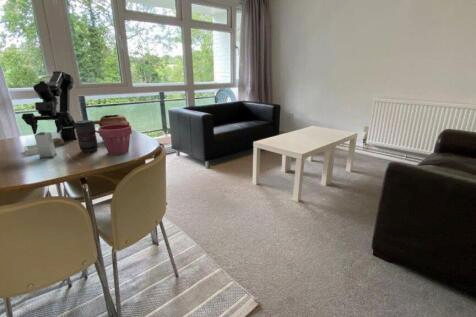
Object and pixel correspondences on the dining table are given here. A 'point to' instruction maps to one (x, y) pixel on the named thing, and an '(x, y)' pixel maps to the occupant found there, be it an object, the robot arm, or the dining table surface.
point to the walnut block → (58, 142)
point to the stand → (31, 150)
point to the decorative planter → (111, 120)
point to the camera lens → (86, 136)
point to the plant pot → (116, 138)
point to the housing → (45, 145)
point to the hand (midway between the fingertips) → (46, 133)
